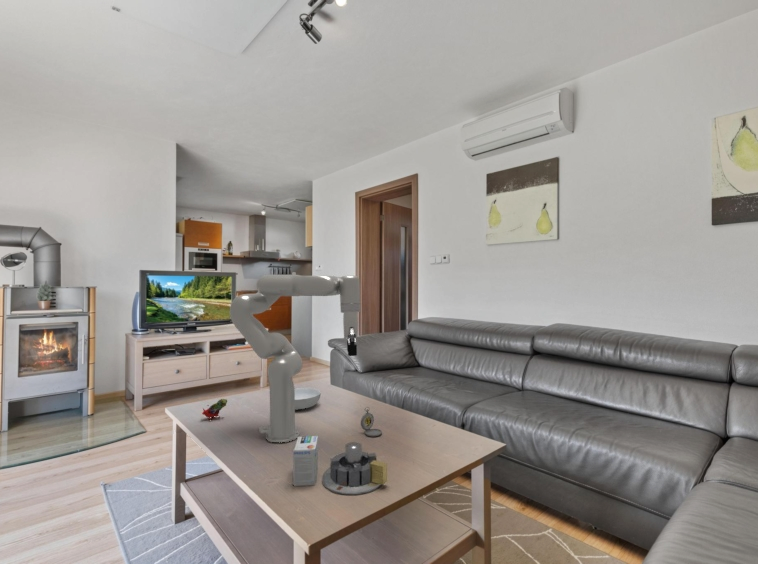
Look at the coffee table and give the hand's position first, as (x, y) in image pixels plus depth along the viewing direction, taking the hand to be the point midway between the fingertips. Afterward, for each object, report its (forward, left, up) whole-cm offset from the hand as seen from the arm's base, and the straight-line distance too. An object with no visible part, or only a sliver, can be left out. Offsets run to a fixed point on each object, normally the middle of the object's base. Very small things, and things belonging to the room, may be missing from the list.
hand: (352, 353), depth 146 cm
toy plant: (-61, +33, -34) cm, 77 cm away
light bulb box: (-15, -25, -34) cm, 45 cm away
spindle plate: (0, -28, -33) cm, 43 cm away
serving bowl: (-25, +46, -34) cm, 62 cm away
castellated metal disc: (+1, -28, -32) cm, 42 cm away
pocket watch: (+8, +8, -34) cm, 35 cm away
